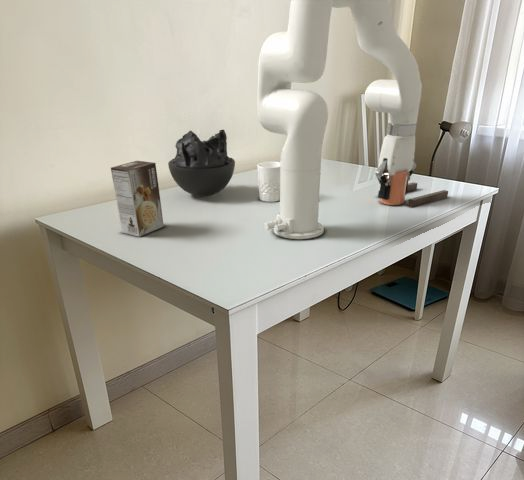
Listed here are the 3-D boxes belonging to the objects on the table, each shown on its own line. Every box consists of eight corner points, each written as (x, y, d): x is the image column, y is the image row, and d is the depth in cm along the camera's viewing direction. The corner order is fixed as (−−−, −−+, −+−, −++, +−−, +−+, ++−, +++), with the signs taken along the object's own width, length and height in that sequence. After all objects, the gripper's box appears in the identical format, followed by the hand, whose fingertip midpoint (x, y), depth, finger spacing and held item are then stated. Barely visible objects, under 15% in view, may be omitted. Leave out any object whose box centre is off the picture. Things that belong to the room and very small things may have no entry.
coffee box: (146, 223, 132) (137, 159, 123) (164, 227, 129) (156, 162, 120) (121, 233, 125) (109, 166, 116) (139, 237, 122) (129, 170, 114)
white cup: (281, 203, 146) (281, 167, 141) (255, 201, 147) (254, 166, 142) (285, 195, 153) (286, 162, 147) (260, 194, 154) (260, 161, 148)
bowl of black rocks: (161, 202, 148) (153, 134, 138) (185, 185, 164) (180, 123, 154) (225, 206, 144) (221, 136, 134) (243, 188, 160) (241, 125, 150)
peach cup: (393, 206, 141) (396, 174, 136) (375, 201, 146) (378, 169, 141) (408, 201, 145) (413, 170, 140) (391, 196, 149) (394, 165, 144)
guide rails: (412, 207, 141) (413, 200, 140) (377, 197, 150) (378, 190, 149) (447, 197, 149) (448, 191, 148) (412, 188, 158) (413, 182, 157)
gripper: (411, 125, 142) (402, 189, 151) (368, 132, 133) (362, 198, 143) (433, 129, 137) (422, 194, 146) (390, 135, 128) (381, 204, 138)
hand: (392, 195), depth 144 cm, fingers closed on peach cup, 6 cm apart
